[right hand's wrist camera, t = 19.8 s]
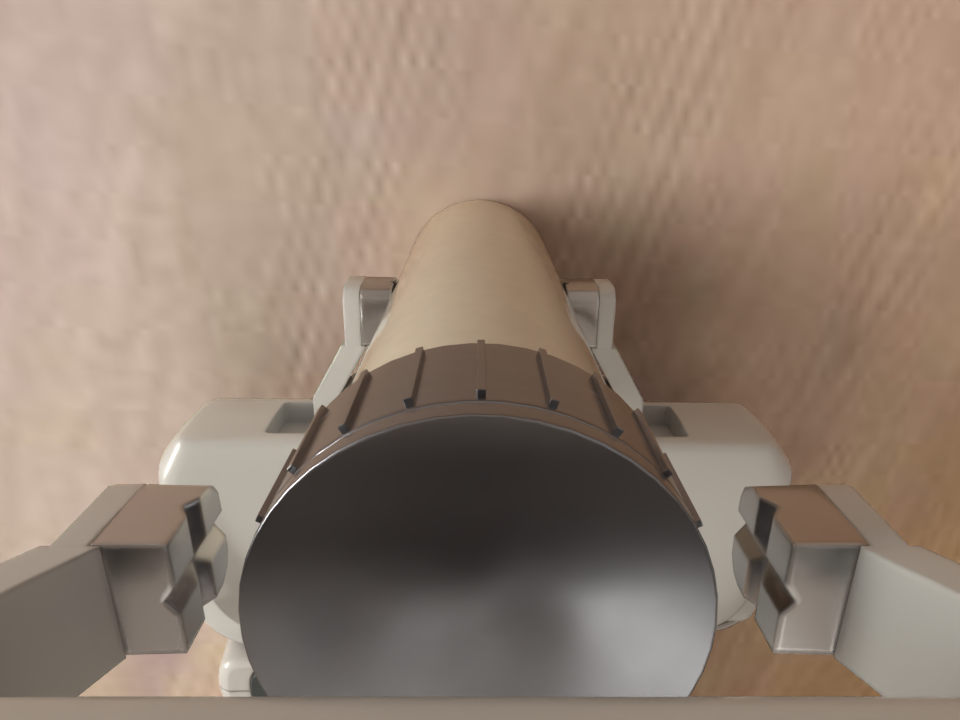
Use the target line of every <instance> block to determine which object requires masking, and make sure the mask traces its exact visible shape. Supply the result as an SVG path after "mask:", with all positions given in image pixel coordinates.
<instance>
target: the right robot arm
mask: <svg viewBox="0 0 960 720" xmlns="http://www.w3.org/2000/svg"><path fill="white" fill-rule="evenodd" d="M221 511H222V508H221V503H220V498H219V493H218V491H217V490H216V489H215V488H214V487H213V486H210V485H159V484H149V485H146V484H116V485H111V486H108V487H107V488H106V489H105V490H104V491H103V492H102V493H101V494H100V496H99V497H98V498H97V499H96V500H95V501H94V502H93V503H92V504H91V505H90V506H89V507H88V508H87V509H86V510H85V511H84V512H83V513H82V514H81V515H80V516H79V517H78V518H77V519H76V520H75V521H74V522H73V523H72V524H71V525H70V526H69V527H68V528H67V530H66V531H65V532H64V533H63V534H62V535H61V536H60V537H59V538H58V539H57V540H56V541H55V542H54V543H53V544H52V545H51V546H39V547H36V548H34V549H32V550H30V551H28V552H25V553H23V554H21V555H19V556H16V557H14V558H12V559H10V560H8V561H5V562H3V563H1V564H0V720H960V564H959V563H957V562H955V561H952V560H950V559H948V558H946V557H943V556H941V555H939V554H937V553H935V552H932V551H930V550H928V549H926V548H924V547H921V546H909V545H908V544H907V543H906V542H905V541H904V540H903V539H902V538H901V537H900V536H899V535H898V534H897V533H896V531H895V530H894V529H893V528H892V527H891V526H890V525H889V524H888V523H887V522H886V521H885V520H884V519H883V518H882V517H881V516H880V515H879V514H878V513H877V512H876V511H875V510H874V509H873V508H872V507H871V506H870V505H869V504H868V503H867V502H866V500H865V499H864V498H863V497H862V496H861V495H860V494H859V493H858V492H857V491H856V490H855V489H854V488H853V487H851V486H849V485H846V484H820V485H785V486H750V487H745V488H744V490H743V492H742V494H741V497H740V502H739V508H738V511H739V513H740V514H741V516H742V518H743V519H744V521H745V524H744V526H743V527H742V528H741V529H740V530H739V531H738V532H737V533H736V534H735V535H734V540H733V548H732V563H733V573H734V576H735V579H736V583H737V586H738V588H739V590H740V592H741V594H742V596H743V597H744V598H745V599H747V600H748V601H750V602H751V603H753V604H754V605H756V606H757V609H756V614H755V620H756V622H757V624H758V626H759V628H760V630H761V632H762V633H763V635H764V637H765V639H766V641H767V643H768V645H769V646H770V648H771V650H772V652H773V653H785V654H821V655H834V658H835V659H836V660H838V661H839V662H840V663H841V664H843V665H844V666H845V667H846V668H848V669H849V670H850V671H851V672H853V673H854V674H855V675H856V676H858V677H859V678H860V679H862V680H863V681H864V682H865V683H867V684H868V685H869V686H870V687H872V688H873V689H874V690H875V691H877V692H878V693H879V694H880V695H882V696H883V697H77V696H79V695H80V694H81V693H82V692H84V691H85V690H86V689H87V688H89V687H90V686H91V685H92V684H94V683H95V682H96V681H97V680H99V679H100V678H101V677H103V676H104V675H105V674H106V673H108V672H109V671H110V670H111V669H113V668H114V667H115V666H116V665H118V664H119V663H120V662H121V661H123V660H124V659H125V658H126V655H138V654H174V653H187V652H188V650H189V648H190V646H191V645H192V643H193V641H194V639H195V637H196V635H197V633H198V632H199V630H200V628H201V626H202V624H203V622H204V620H205V614H204V609H203V606H204V605H206V604H207V603H209V602H210V601H212V600H213V599H215V598H216V597H217V596H218V594H219V592H220V590H221V588H222V586H223V584H224V579H225V575H226V570H227V566H228V546H227V539H226V535H225V534H224V533H223V532H222V531H221V530H220V529H219V528H218V527H217V526H216V524H215V521H216V519H217V518H218V516H219V514H220V513H221Z"/></svg>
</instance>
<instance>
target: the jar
mask: <svg viewBox="0 0 960 720" xmlns="http://www.w3.org/2000/svg"><path fill="white" fill-rule="evenodd" d="M477 340H485V343H486V344H503V345H509V346H516V347H522V348H528V349H531V350H535V351H538V350H539V348H542V349H545V350H546V351H547V354H549V355H552V356H554V357H557V358H559V359H561V360H564V361H566V362H568V363H571V364H573V365H575V366H578V367H579V368H581V369H583V370H584V371H586V372H588V373H589V374H591V375H592V374H593V373H594V372H596V373H598V374H599V375H600V376H601V378H602V380H603V383H604V384H606V383H605V381H604V379H603V377H602V374H601V372H600V370H599V367H598V365H597V363H596V361H595V358H594V356H593V354H592V351H591V349H590V347H589V345H588V342H587V340H586V338H585V336H584V333H583V331H582V329H581V326H580V324H579V322H578V320H577V317H576V315H575V313H574V310H573V308H572V306H571V304H570V301H569V299H568V297H567V295H566V292H565V290H564V288H563V285H562V283H561V281H560V279H559V276H558V274H557V272H556V269H555V267H554V265H553V263H552V260H551V258H550V256H549V254H548V251H547V249H546V247H545V244H544V242H543V240H542V238H541V236H540V234H539V233H538V231H537V229H536V228H535V227H534V226H533V224H532V223H531V222H530V221H529V220H528V219H527V218H526V217H525V216H523V215H522V214H521V213H519V212H518V211H516V210H514V209H513V208H511V207H509V206H506V205H504V204H501V203H497V202H493V201H486V200H472V201H466V202H461V203H458V204H455V205H452V206H450V207H448V208H446V209H444V210H443V211H441V212H440V213H438V214H437V215H436V216H434V217H433V218H432V219H431V220H430V221H429V222H428V223H427V224H426V225H425V226H424V228H423V229H422V231H421V232H420V234H419V236H418V238H417V240H416V242H415V244H414V246H413V248H412V250H411V253H410V255H409V257H408V259H407V262H406V264H405V266H404V268H403V271H402V273H401V275H400V277H399V279H398V282H397V284H396V286H395V288H394V291H393V293H392V295H391V297H390V300H389V302H388V304H387V306H386V308H385V311H384V313H383V315H382V317H381V320H380V322H379V324H378V326H377V329H376V331H375V333H374V335H373V337H372V340H371V342H370V344H369V346H368V349H367V351H366V353H365V355H364V358H363V360H362V362H361V364H360V366H359V369H358V371H357V373H356V375H355V378H354V380H353V382H352V384H353V383H354V382H355V381H357V380H358V378H359V376H360V373H361V372H362V371H364V370H366V369H367V370H368V371H369V372H370V371H372V370H374V369H376V368H378V367H380V366H382V365H384V364H386V363H388V362H390V361H392V360H395V359H398V358H400V357H403V356H406V355H409V354H411V353H414V352H415V349H416V348H419V347H423V348H424V350H426V349H431V348H435V347H440V346H445V345H456V344H466V343H477Z"/></svg>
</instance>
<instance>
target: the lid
mask: <svg viewBox="0 0 960 720" xmlns="http://www.w3.org/2000/svg"><path fill="white" fill-rule="evenodd" d="M255 522H258V523H260V525H259V527H258V529H257V531H256V533H255V535H254V537H253V540H252V542H251V545H250V547H249V550H248V552H247V555H246V557H245V561H244V565H243V570H242V575H241V579H240V584H239V606H238V612H239V620H240V628H241V636H242V640H243V643H244V647H245V650H246V653H247V657H248V660H249V663H250V665H251V667H252V669H253V671H254V673H255V675H256V678H257V680H258V682H259V684H260V685H261V687H262V688H263V690H264V691H265V693H266V694H267V696H268V697H689V696H690V694H691V693H692V691H693V689H694V688H695V686H696V684H697V682H698V680H699V678H700V677H701V675H702V673H703V671H704V668H705V666H706V663H707V660H708V658H709V655H710V652H711V649H712V646H713V641H714V636H715V631H716V626H717V611H718V593H717V586H716V578H715V571H714V568H713V564H712V561H711V558H710V555H709V552H708V548H707V545H706V543H705V541H704V539H703V537H702V535H701V533H700V531H699V529H698V528H699V527H702V526H703V524H702V521H701V519H700V517H699V515H698V513H697V511H696V509H695V507H694V505H693V504H692V502H691V500H690V498H689V496H688V494H687V492H686V490H685V488H684V486H683V484H682V483H681V481H680V479H679V477H678V475H677V473H676V471H675V469H674V467H673V465H672V463H671V462H670V460H669V458H668V456H667V454H666V453H662V451H661V449H660V447H659V445H658V443H657V441H656V439H655V437H654V435H653V433H652V431H651V429H650V427H649V425H648V423H647V421H646V420H645V418H644V416H643V414H642V412H641V411H640V410H639V408H637V409H636V410H633V409H632V408H631V407H630V406H629V405H628V404H627V403H626V402H625V401H624V400H623V399H622V398H621V397H620V396H619V395H618V394H617V393H616V392H614V391H613V390H612V389H611V388H609V387H608V386H607V385H606V384H604V383H603V380H602V378H601V376H600V375H599V374H598V373H596V372H594V373H593V374H592V375H591V374H589V373H588V372H586V371H584V370H583V369H581V368H579V367H578V366H575V365H573V364H571V363H568V362H566V361H564V360H561V359H559V358H557V357H554V356H552V355H549V354H547V351H546V350H545V349H542V348H539V350H538V351H535V350H531V349H528V348H522V347H516V346H509V345H503V344H486V343H485V340H477V343H466V344H456V345H445V346H440V347H435V348H431V349H426V350H424V348H423V347H419V348H416V349H415V352H414V353H411V354H409V355H406V356H403V357H400V358H398V359H395V360H392V361H390V362H388V363H386V364H384V365H382V366H380V367H378V368H376V369H374V370H372V371H370V372H369V371H368V370H367V369H366V370H364V371H362V372H361V373H360V376H359V378H358V380H357V381H355V382H354V383H353V384H351V385H350V386H348V387H347V388H346V389H345V390H344V391H342V392H341V393H340V394H339V395H338V396H337V397H336V398H335V399H334V400H333V401H332V402H331V403H330V404H328V406H327V407H325V406H324V405H321V406H320V407H319V408H318V410H317V412H316V414H315V416H314V418H313V420H312V421H311V423H310V425H309V427H308V429H307V431H306V433H305V435H304V437H303V439H302V441H301V443H300V445H299V446H298V448H297V450H296V449H292V451H291V453H290V455H289V457H288V459H287V460H286V462H285V464H284V466H283V468H282V470H281V472H280V474H279V475H278V477H277V479H276V481H275V483H274V485H273V487H272V489H271V490H270V492H269V494H268V496H267V498H266V500H265V502H264V504H263V505H262V507H261V509H260V511H259V513H258V515H257V517H256V520H255Z"/></svg>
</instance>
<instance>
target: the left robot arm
mask: <svg viewBox="0 0 960 720" xmlns="http://www.w3.org/2000/svg"><path fill="white" fill-rule="evenodd" d="M397 282H398V281H397V278H395V277H366V276H358V277H350V278H349V279H348V281H347V282H346V283H345V285H344V290H343V315H344V331H345V340H344V342H343V343H342V345H341V347H340V349H339V351H338V353H337V354H336V356H335V358H334V360H333V362H332V364H331V365H330V367H329V369H328V371H327V373H326V375H325V376H324V378H323V380H322V382H321V384H320V386H319V388H318V389H317V391H316V393H315V395H314V397H313V399H245V398H219V399H214V400H211V401H209V402H207V403H206V404H205V405H204V406H203V407H202V408H201V409H200V410H199V411H198V412H196V413H195V414H194V415H193V416H192V417H191V418H190V419H189V420H188V421H187V422H186V423H185V424H184V426H183V427H182V428H181V429H180V430H179V432H178V433H177V434H176V435H175V437H174V438H173V439H172V441H171V442H170V444H169V445H168V447H167V448H166V450H165V452H164V453H163V456H162V458H161V461H160V465H159V485H210V486H213V487H214V488H215V489H216V490H217V491H218V493H219V498H220V503H221V508H222V511H221V513H220V514H219V516H218V518H217V519H216V521H215V524H216V526H217V527H218V528H219V529H220V530H221V531H222V532H223V533H224V534H225V535H226V539H227V546H228V566H227V570H226V575H225V579H224V584H223V586H222V588H221V590H220V592H219V594H218V596H217V597H216V598H215V599H213V600H212V601H210V602H209V603H207V604H206V605H204V606H203V609H204V614H205V620H204V621H205V622H206V623H207V624H208V625H209V626H210V627H211V628H212V629H214V630H215V631H216V632H218V633H219V634H221V635H222V636H224V637H226V638H228V641H227V644H226V647H225V651H224V654H223V657H222V661H221V664H220V669H219V684H220V689H221V692H222V695H223V697H268V696H267V694H266V693H265V691H264V690H263V688H262V687H261V685H260V684H259V682H258V680H257V678H256V675H255V673H254V671H253V669H252V667H251V665H250V663H249V660H248V657H247V653H246V650H245V647H244V643H243V640H242V636H241V628H240V620H239V612H238V606H239V584H240V579H241V575H242V570H243V565H244V561H245V557H246V555H247V552H248V550H249V547H250V545H251V542H252V540H253V537H254V535H255V533H256V531H257V529H258V527H259V525H260V523H258V522H255V520H256V517H257V515H258V513H259V511H260V509H261V507H262V505H263V504H264V502H265V500H266V498H267V496H268V494H269V492H270V490H271V489H272V487H273V485H274V483H275V481H276V479H277V477H278V475H279V474H280V472H281V470H282V468H283V466H284V464H285V462H286V460H287V459H288V457H289V455H290V453H291V451H292V449H296V450H297V448H298V446H299V445H300V443H301V441H302V439H303V437H304V435H305V433H306V431H307V429H308V427H309V425H310V423H311V421H312V420H313V418H314V416H315V414H316V412H317V410H318V408H319V407H320V406H321V405H324V406H325V407H327V406H328V404H330V403H331V402H332V401H333V400H334V399H335V398H336V397H337V396H338V395H339V394H340V393H341V392H342V391H344V390H345V389H346V388H347V387H348V386H350V385H351V384H352V382H353V380H354V378H355V375H356V374H353V375H352V376H351V377H350V375H351V374H352V372H353V370H354V368H355V366H356V365H357V363H358V361H359V359H360V357H361V355H362V354H363V352H364V350H365V348H366V346H367V345H369V344H370V342H371V340H372V337H373V335H374V333H375V331H376V329H377V326H378V324H379V322H380V320H381V317H382V315H383V313H384V311H385V308H386V306H387V304H388V302H389V300H390V297H391V295H392V293H393V291H394V288H395V286H396V284H397ZM561 283H562V285H563V288H564V290H565V292H566V295H567V297H568V299H569V301H570V304H571V306H572V308H573V310H574V313H575V315H576V317H577V320H578V322H579V324H580V326H581V329H582V331H583V333H584V336H585V338H586V340H587V342H588V345H589V347H591V350H592V351H593V353H594V355H595V357H596V359H597V361H598V363H599V365H600V366H601V368H602V370H603V372H604V374H605V376H606V378H607V379H606V378H605V377H604V376H602V377H603V379H604V381H605V383H606V385H607V386H608V387H609V388H611V389H612V390H613V391H614V392H616V393H617V394H618V395H619V396H620V397H621V398H622V399H623V400H624V401H625V402H626V403H627V404H628V405H629V406H630V407H631V408H632V409H633V410H636V409H637V408H639V410H640V411H641V412H642V414H643V416H644V418H645V420H646V421H647V423H648V425H649V427H650V429H651V431H652V433H653V435H654V437H655V439H656V441H657V443H658V445H659V447H660V449H661V451H662V453H666V454H667V456H668V458H669V460H670V462H671V463H672V465H673V467H674V469H675V471H676V473H677V475H678V477H679V479H680V481H681V483H682V484H683V486H684V488H685V490H686V492H687V494H688V496H689V498H690V500H691V502H692V504H693V505H694V507H695V509H696V511H697V513H698V515H699V517H700V519H701V521H702V524H703V526H702V527H699V528H698V529H699V531H700V533H701V535H702V537H703V539H704V541H705V543H706V545H707V548H708V552H709V555H710V558H711V561H712V564H713V568H714V571H715V578H716V586H717V593H718V611H717V626H716V631H719V630H724V629H726V628H729V627H731V626H733V625H735V624H737V623H738V622H740V621H744V620H747V619H748V618H750V616H751V615H752V614H753V612H754V610H755V608H756V605H754V604H753V603H751V602H750V601H748V600H747V599H745V598H744V597H743V596H742V594H741V592H740V590H739V588H738V586H737V583H736V579H735V576H734V573H733V563H732V548H733V540H734V535H735V534H736V533H737V532H738V531H739V530H740V529H741V528H742V527H743V526H744V524H745V521H744V519H743V518H742V516H741V514H740V513H739V511H738V508H739V502H740V497H741V494H742V492H743V490H744V488H745V487H750V486H785V485H791V479H792V469H791V464H790V462H789V460H788V457H787V455H786V454H785V452H784V451H783V449H782V447H781V446H780V445H779V443H778V442H777V440H776V439H775V438H774V436H773V435H772V434H771V432H770V431H769V430H768V429H767V428H766V427H765V426H764V425H763V424H762V423H761V422H760V421H759V420H758V419H757V418H756V417H755V416H754V415H753V414H752V413H751V412H750V411H749V410H748V409H747V408H745V407H744V406H742V405H740V404H735V403H680V402H644V401H643V399H642V397H641V395H640V393H639V391H638V389H637V387H636V385H635V383H634V381H633V379H632V377H631V375H630V374H629V372H628V370H627V368H626V366H625V364H624V362H623V360H622V358H621V356H620V354H619V352H618V350H617V348H616V346H615V345H614V343H613V334H614V322H615V310H616V293H615V287H614V286H613V285H612V283H611V282H610V280H609V279H562V282H561Z"/></svg>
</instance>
